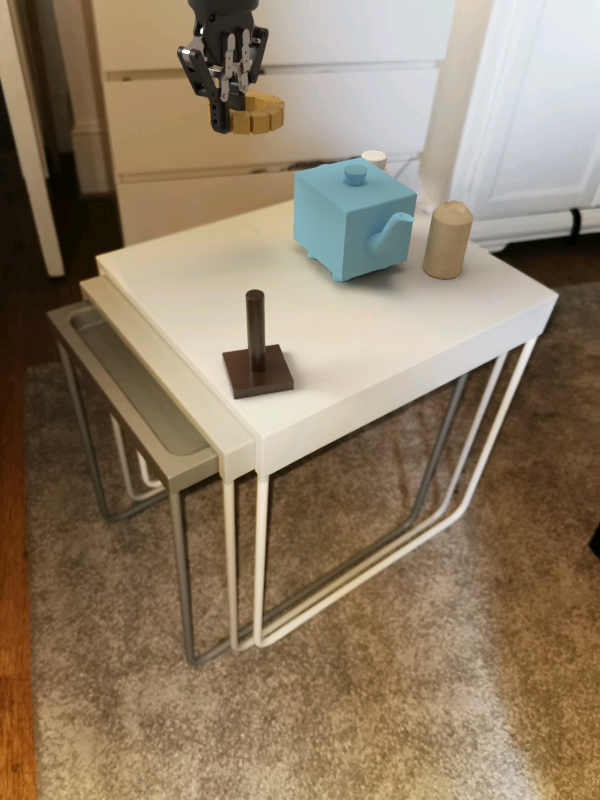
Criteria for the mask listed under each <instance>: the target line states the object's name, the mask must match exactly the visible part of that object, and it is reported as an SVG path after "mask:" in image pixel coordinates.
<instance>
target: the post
mask: <svg viewBox="0 0 600 800" xmlns="http://www.w3.org/2000/svg"><path fill="white" fill-rule="evenodd" d="M265 298H266V297H265V293H264V291H263V290H260V289H258V288H257V289H255V288H253V289H250V290H248V291H246V292H245V310H246V311H245V313H246V315H245V317H246V318H245V319H246V337H247V339H246V341H247V348H243V349H238V350H236V349H235V350H230V351H224V352H221V359H222V363H223V367H224V370H225V374H226V377H227V380H228V383H229V387H230V390H231V393H232V394H231V395H232V397H233V400H235V399H243V398H247V397H252V396H259V395H265V394H270V393H277V392H282V391H288V390H293V389H294V388H295V380H294V378H293V376H292V373H291V371H290V368H289V366H288V363H287V360H286V358H285V356H284V353H283V351H282V348H281V346H280V344H279V343H276V344H269V345H266V305H265V304H266V303H265V302H266V301H265V300H266V299H265Z"/></svg>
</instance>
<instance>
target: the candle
mask: <svg viewBox="0 0 600 800" xmlns="http://www.w3.org/2000/svg"><path fill="white" fill-rule="evenodd" d="M473 222H474V215H473V213H472V211H471V210H470V209H469V208H468V206H467V205H466V204H465V202H464V201H460V200H455V199H454V200H450V201H443V202H442V203H441V204H439V205H438V206H437V207H435V208H434V209H433V210H432V212H431V218H430V224H429V229H428V234H427V241H426V247H425V252H424V256H423V263H422V269H423V271H425V273H426V274H427V275H429V276H430V277H433V278H436V279H442V280H450V279H455V278H456V277H458V276H460V274H461V272H462V268H463V265H464V262H465V261H464V260H465V256H466V251H467V248H468V244H469V240H470V235H471V230H472V226H473Z"/></svg>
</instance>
